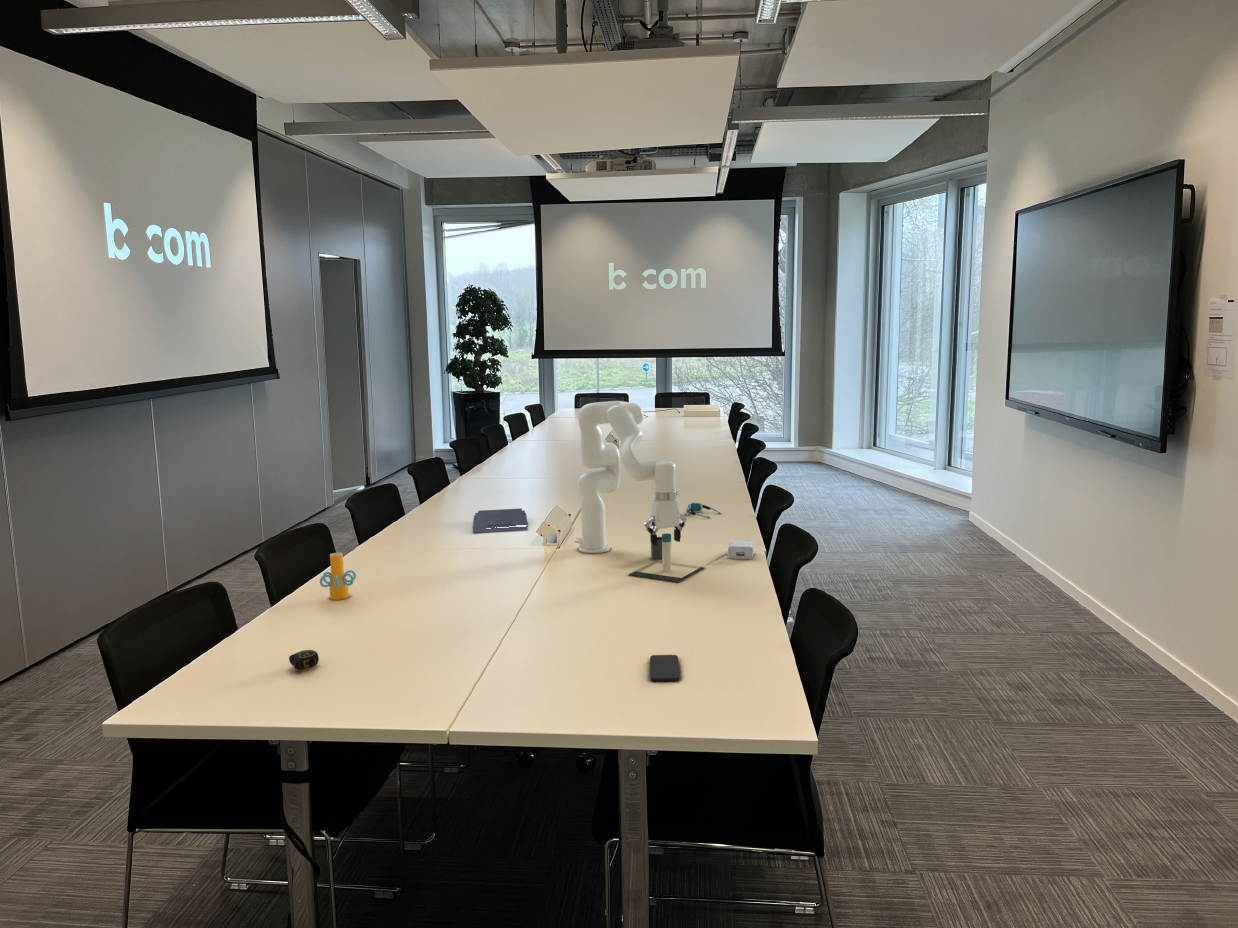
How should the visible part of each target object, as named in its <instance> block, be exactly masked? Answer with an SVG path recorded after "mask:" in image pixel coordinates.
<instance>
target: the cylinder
mask: <svg viewBox="0 0 1238 928" xmlns="http://www.w3.org/2000/svg"><path fill="white" fill-rule="evenodd" d="M343 555H344V554H343V552H333V553H330V554H329V562H330V571H325V572H323V574H322V576H321V577H320V579H319V585H320V586H321V587H323V588H329V598H330V600H333V601H340V600H346V599H348V598H349V597H350V594H349V593H350V592H349V587H350V586H352V585H353V584H354V582H355V580H356V578H357V574H356V572H355V571H354V570H353V569H349V570H346V571H345V567H344V557H343ZM347 577H349V578H350V579H347ZM326 578H328V579H329V581H328V580H327V579H326ZM323 582H324V583H325V584H324V583H323Z"/></svg>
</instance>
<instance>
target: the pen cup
mask: <svg viewBox="0 0 1238 928" xmlns="http://www.w3.org/2000/svg"><path fill="white" fill-rule="evenodd" d="M650 558H651V560H656V561H662V536H657V545H656V546H655V545H652V544H651V543H650Z"/></svg>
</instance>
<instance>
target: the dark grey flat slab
mask: <svg viewBox="0 0 1238 928" xmlns="http://www.w3.org/2000/svg"><path fill="white" fill-rule="evenodd" d="M516 525H528V517H527V512H526V511H525V510H523V508H522V507H521V508H506V509H505V508H504V509H503V508H501V509H483V510H478V511H477V512H475V514H474V515H473V521H472V533H473V534H474V533H483V532H484V533H486V532H488V533H489V532H501V531H502V532H503V531H524V530H525V531H526V530H528V527H529V525H528V526H526V527H509V526H516ZM495 527H496V528H495ZM497 527H509V528H497ZM486 528H491V529H486Z"/></svg>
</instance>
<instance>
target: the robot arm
mask: <svg viewBox="0 0 1238 928" xmlns="http://www.w3.org/2000/svg"><path fill="white" fill-rule="evenodd" d="M577 420H578V425H579V430H580V453H581V454H580V456H581V458H580V459H581V464H582V466H583V467H584V468H585V469H599V468H602V469H600V470H593V471H587V472H584V473H582V474H581V475H580V476H579V477H578V479H577V488H578V492H579V498H580V499H579V500H580V513H581V537H575V540H574V543H575V544H579V546H578V551H579V552H581V553H583V554H601V553H606V552H608V551H610V550H611V546H610V544H607V529H606V527H607V526H606V524H607V523H606V505H605V502H604V500H603V499H602V497H601V496H602V495H605V494H606V495H607V494H612V493H614V492H617V491H618V489H619V488H620V484H621V463H622V466H623V468H624V469H625V471H626V473H627V474H628V475H629V477H630V478H631V479H632V480H633V481H635V482H644V481H650V480H651V481H652V480H654V499H652V501H651V507H650V518H649V519H647V520H646V521H644V523H643V526H644V527H645V530H646V531H647V532H648V533H649V534H650V536H649V537H650V539H649V540H650V545H651V544H652V545H655V546H656V545H657V537H658V535H657V533H658V531H659V530H661V529H662V530H663V529H668V528H674V529H673V541H675V542H678V543H680V542H681V538H682V535H681V534H682V533H681V532H682V531H683V528H684V526H686V525H685V524H686V522H687V520H688V518H687V517H686V516H684V515H682V514H680V513H681V512H680V506H679V501H678V498H677V496H679V494H680V493H679V491H678V490H677V481H676V480H677V466H676V463H675V462H673V461H670V460H664V459H662V458H659V457H653V458H645V459H638V457H637V456H636V455H635V453H634V451H633V448H635V447H636V446H637V445H638V444H640V443H641V441H642V439H643V436H644V435H643V431H642V430H641V428H640V427H639V425H640V424H641V423H642V422H643V420H644V411H643V409H642V407H641V406H640V405H639V404H637V403H636V402H630V401H629V402H628V401H622V400H610V401H609V400H608V401H598V402H590V403H587V404H584V405H583V406H581V408H580V409H579V412H578V419H577ZM606 424H609V425H610V427H611V428H612V430H613V431H614V433H615V435H616V436H617V438H618V440H619V441H620V443H621V445H622V446H621V449H619V448H618V447H617V445H616V444H615V443H613V442H604V433H603V430H602V429H601V427H600V426H599V425H606Z"/></svg>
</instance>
